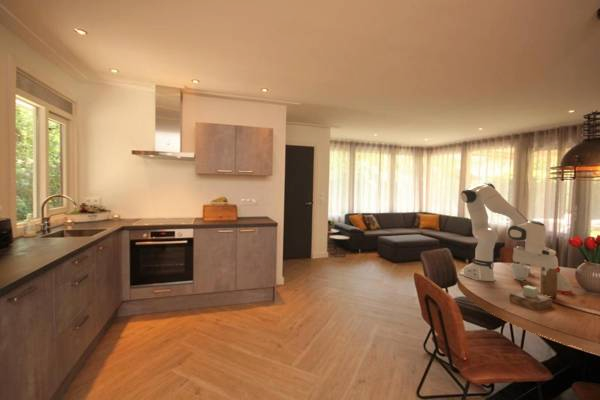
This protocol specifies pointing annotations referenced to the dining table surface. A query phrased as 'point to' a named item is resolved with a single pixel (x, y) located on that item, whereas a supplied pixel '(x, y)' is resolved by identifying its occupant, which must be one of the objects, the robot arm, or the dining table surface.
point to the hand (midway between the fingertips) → (533, 272)
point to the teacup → (519, 271)
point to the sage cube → (530, 291)
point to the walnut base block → (531, 300)
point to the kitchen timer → (562, 283)
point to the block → (549, 282)
